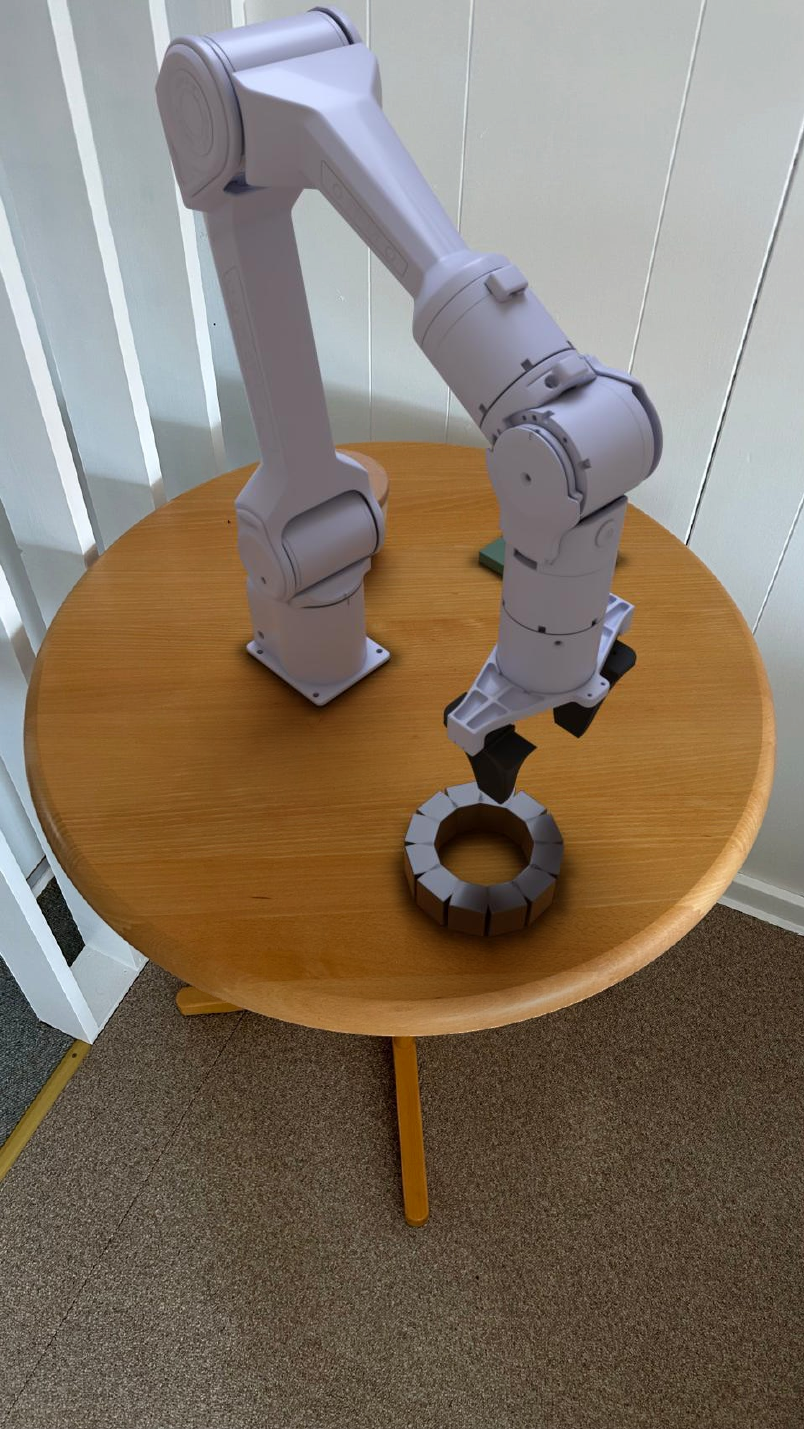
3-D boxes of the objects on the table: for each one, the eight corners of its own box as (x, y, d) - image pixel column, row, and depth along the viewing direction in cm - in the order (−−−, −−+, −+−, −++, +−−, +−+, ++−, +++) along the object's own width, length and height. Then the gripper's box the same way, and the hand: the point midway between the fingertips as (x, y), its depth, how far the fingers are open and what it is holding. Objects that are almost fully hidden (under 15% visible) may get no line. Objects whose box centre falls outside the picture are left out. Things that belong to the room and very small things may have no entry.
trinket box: (376, 597, 86) (373, 509, 79) (260, 582, 87) (247, 494, 80) (400, 524, 93) (399, 438, 86) (293, 512, 94) (283, 426, 87)
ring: (374, 868, 67) (373, 843, 64) (476, 783, 71) (478, 757, 69) (487, 966, 62) (490, 942, 59) (588, 867, 66) (594, 842, 64)
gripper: (523, 707, 47) (505, 863, 57) (693, 571, 54) (649, 732, 64) (420, 638, 50) (419, 796, 60) (591, 518, 57) (565, 678, 67)
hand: (532, 759), depth 62 cm, fingers open, 7 cm apart
